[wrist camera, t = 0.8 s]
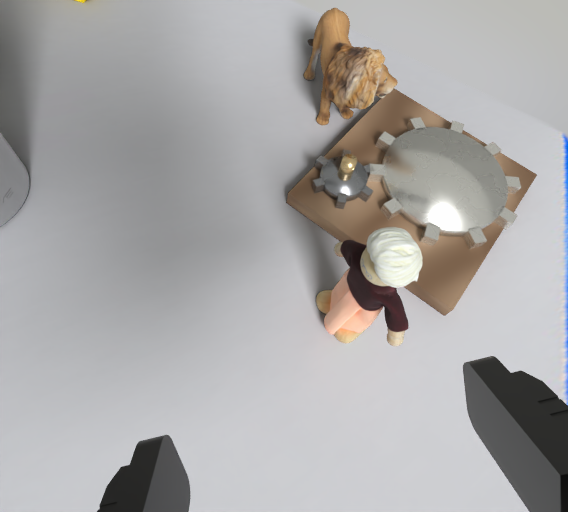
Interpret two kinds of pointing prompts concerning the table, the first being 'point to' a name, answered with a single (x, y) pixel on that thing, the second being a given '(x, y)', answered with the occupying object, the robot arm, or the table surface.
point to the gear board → (368, 218)
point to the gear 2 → (444, 182)
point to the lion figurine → (346, 68)
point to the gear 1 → (342, 178)
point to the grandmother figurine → (372, 285)
